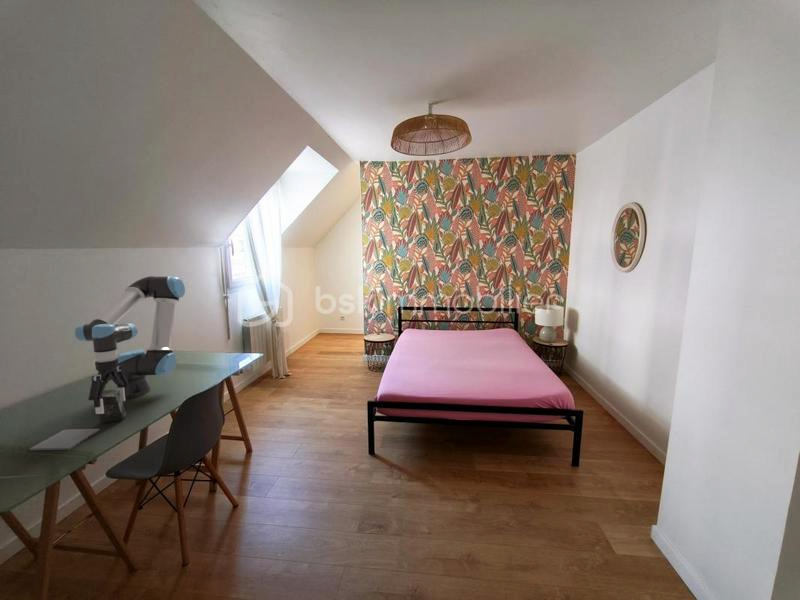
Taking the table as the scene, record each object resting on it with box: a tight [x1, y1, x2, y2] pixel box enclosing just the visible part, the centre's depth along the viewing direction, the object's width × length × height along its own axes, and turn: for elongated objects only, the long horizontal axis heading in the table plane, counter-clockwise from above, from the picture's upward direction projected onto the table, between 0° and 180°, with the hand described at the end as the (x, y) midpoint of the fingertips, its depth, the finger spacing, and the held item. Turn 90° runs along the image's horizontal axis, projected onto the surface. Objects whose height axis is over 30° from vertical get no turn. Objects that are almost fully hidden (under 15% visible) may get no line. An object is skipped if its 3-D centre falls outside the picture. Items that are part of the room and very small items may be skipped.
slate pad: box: [29, 428, 101, 451], centre depth 132 cm, size 14×14×1 cm
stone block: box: [97, 389, 127, 424], centre depth 146 cm, size 9×14×5 cm
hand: (111, 407), depth 146 cm, fingers open, 11 cm apart
